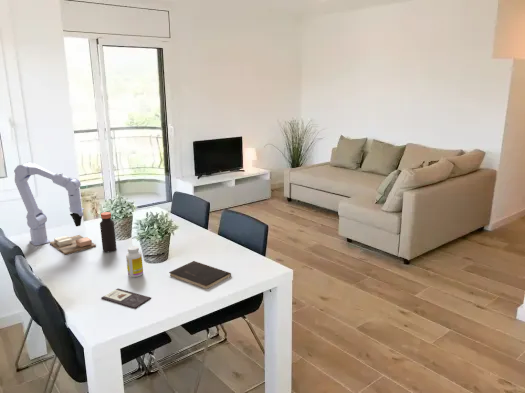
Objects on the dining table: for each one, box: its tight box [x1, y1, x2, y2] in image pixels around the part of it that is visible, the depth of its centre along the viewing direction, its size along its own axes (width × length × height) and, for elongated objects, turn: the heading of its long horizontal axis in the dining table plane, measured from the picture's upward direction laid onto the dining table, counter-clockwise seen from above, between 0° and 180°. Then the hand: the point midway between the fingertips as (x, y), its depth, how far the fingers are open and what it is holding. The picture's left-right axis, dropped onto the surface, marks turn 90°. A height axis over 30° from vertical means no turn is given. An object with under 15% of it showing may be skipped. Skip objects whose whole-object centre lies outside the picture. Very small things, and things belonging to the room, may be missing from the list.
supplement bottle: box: [125, 245, 144, 278], centre depth 193 cm, size 7×7×13 cm
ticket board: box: [49, 234, 97, 255], centre depth 231 cm, size 22×16×4 cm
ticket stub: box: [76, 236, 93, 247], centre depth 229 cm, size 6×6×2 cm
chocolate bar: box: [101, 288, 152, 310], centre depth 173 cm, size 9×1×18 cm
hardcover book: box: [168, 260, 232, 290], centre depth 193 cm, size 16×23×2 cm
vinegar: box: [99, 211, 117, 253], centre depth 222 cm, size 7×7×20 cm
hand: (78, 225), depth 233 cm, fingers closed
